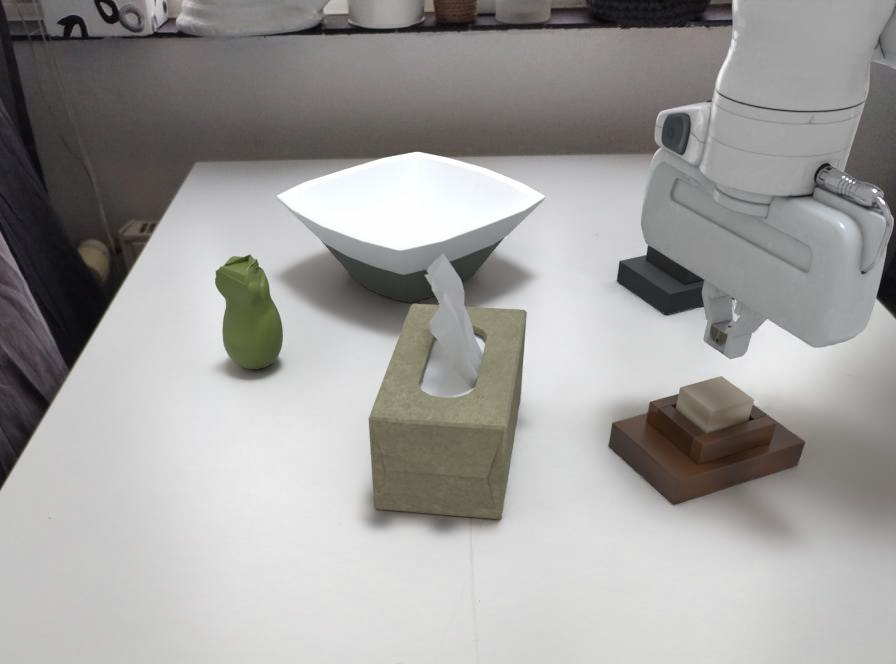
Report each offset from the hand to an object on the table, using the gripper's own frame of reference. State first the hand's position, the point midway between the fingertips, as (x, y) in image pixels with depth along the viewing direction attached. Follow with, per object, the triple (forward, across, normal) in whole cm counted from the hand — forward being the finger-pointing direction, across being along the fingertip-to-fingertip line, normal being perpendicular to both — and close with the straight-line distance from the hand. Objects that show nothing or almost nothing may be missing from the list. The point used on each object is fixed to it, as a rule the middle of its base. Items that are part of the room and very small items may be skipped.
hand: (723, 349), depth 66 cm
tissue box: (+10, +10, +18) cm, 22 cm away
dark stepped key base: (+9, +26, -18) cm, 33 cm away
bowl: (+10, +42, +7) cm, 43 cm away
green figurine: (+10, +30, +28) cm, 42 cm away
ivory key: (+6, 0, 0) cm, 6 cm away
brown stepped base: (+9, 0, 0) cm, 9 cm away
